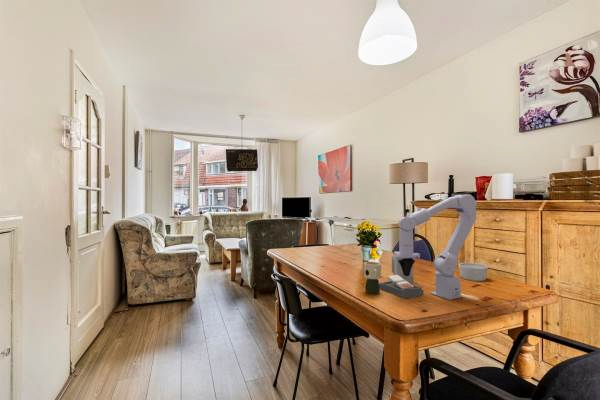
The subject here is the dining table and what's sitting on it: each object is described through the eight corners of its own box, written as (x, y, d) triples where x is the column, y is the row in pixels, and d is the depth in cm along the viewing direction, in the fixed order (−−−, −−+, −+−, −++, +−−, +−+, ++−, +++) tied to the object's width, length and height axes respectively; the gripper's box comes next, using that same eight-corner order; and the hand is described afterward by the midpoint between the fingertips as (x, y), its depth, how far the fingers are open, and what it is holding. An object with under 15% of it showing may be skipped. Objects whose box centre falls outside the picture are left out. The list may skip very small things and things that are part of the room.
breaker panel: (423, 294, 128) (423, 287, 128) (405, 298, 123) (405, 291, 123) (395, 285, 142) (395, 278, 142) (378, 288, 137) (378, 281, 137)
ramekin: (492, 282, 146) (492, 268, 146) (463, 281, 149) (463, 267, 149) (481, 276, 159) (481, 263, 160) (455, 275, 162) (455, 262, 162)
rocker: (413, 288, 130) (413, 285, 129) (403, 290, 127) (403, 287, 127) (396, 277, 138) (397, 274, 138) (386, 278, 136) (387, 275, 135)
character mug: (361, 289, 136) (361, 260, 136) (376, 288, 136) (376, 260, 137) (367, 296, 125) (367, 266, 125) (384, 296, 126) (384, 265, 126)
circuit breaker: (405, 278, 155) (405, 249, 156) (413, 285, 141) (413, 254, 141) (391, 277, 156) (391, 249, 156) (397, 285, 142) (397, 254, 142)
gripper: (410, 242, 136) (411, 271, 136) (387, 244, 130) (387, 275, 130) (423, 244, 130) (423, 275, 130) (399, 246, 123) (399, 279, 123)
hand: (406, 275), depth 129 cm, fingers closed
